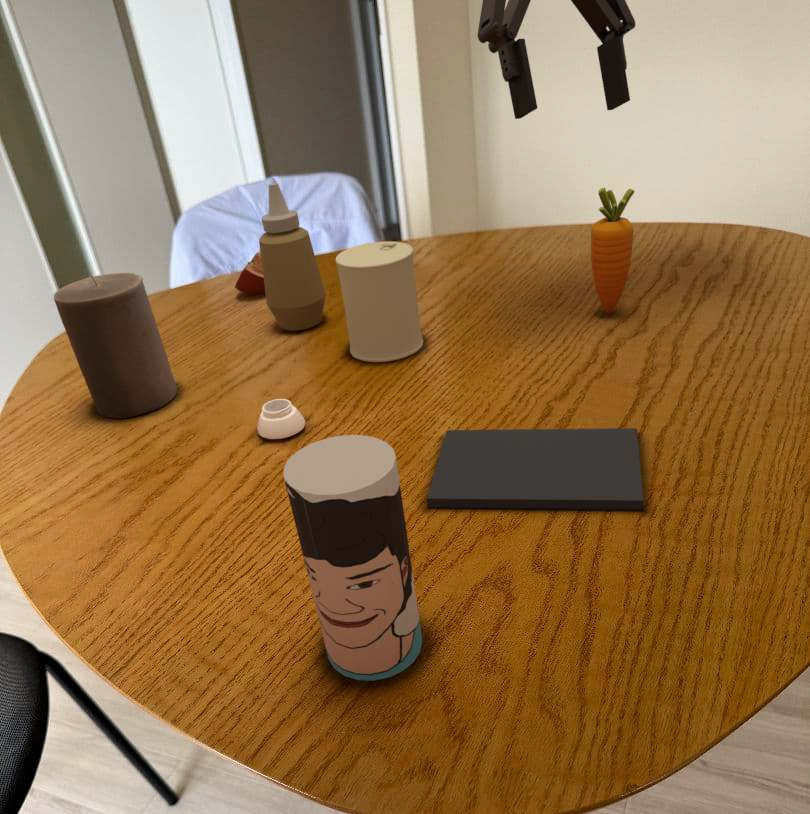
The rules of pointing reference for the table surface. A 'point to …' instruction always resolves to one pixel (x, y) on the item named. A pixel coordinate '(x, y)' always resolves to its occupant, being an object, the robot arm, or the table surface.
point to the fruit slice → (252, 277)
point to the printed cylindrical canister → (356, 553)
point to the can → (380, 301)
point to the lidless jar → (279, 420)
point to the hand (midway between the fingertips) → (574, 109)
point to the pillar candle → (117, 344)
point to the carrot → (611, 249)
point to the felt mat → (539, 469)
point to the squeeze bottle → (289, 267)
